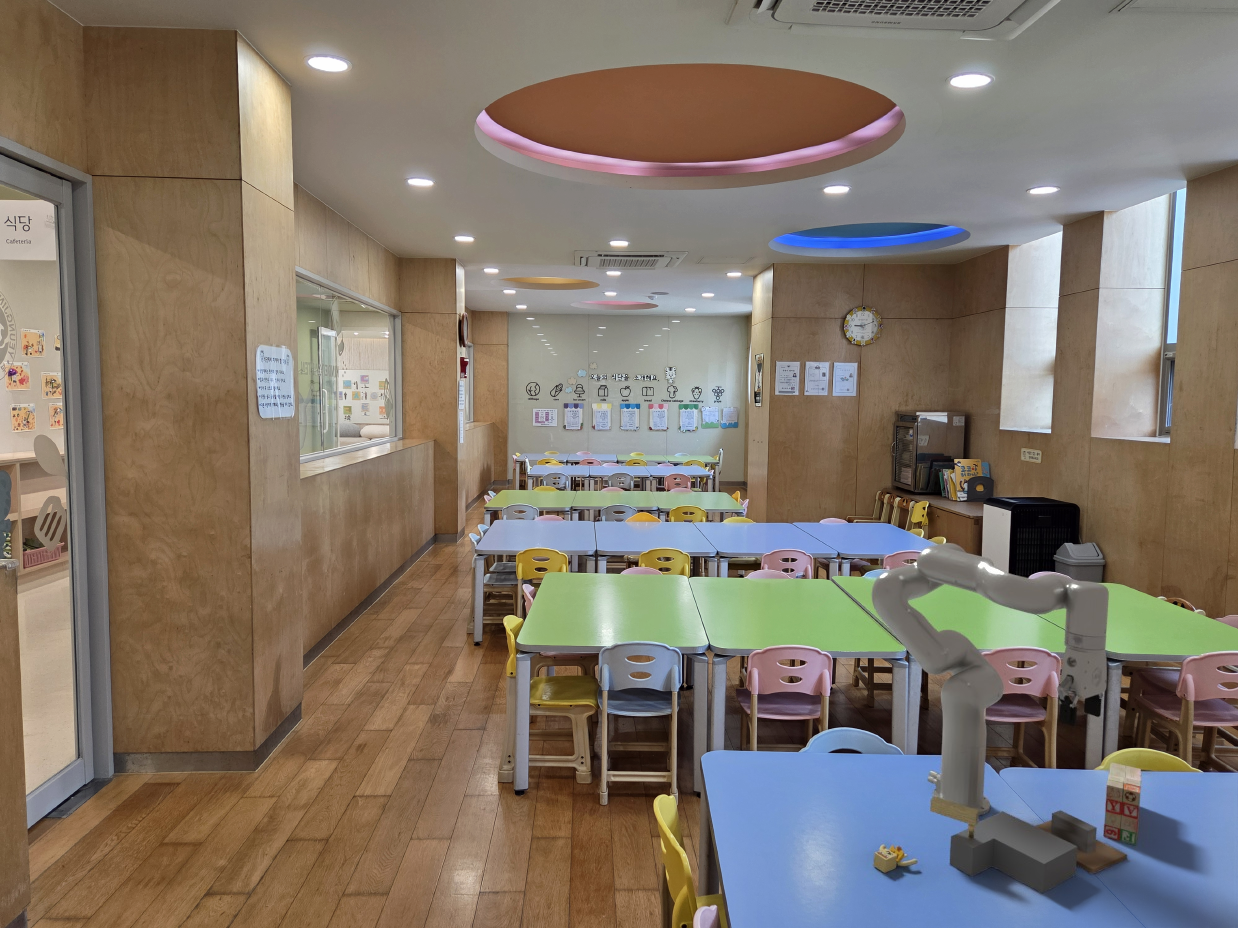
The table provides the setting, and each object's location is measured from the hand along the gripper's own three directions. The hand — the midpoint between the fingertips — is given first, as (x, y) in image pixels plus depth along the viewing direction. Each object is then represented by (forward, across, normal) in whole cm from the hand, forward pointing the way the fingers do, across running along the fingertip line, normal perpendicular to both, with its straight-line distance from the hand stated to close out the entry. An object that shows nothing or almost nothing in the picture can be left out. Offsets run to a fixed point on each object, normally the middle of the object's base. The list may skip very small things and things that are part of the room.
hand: (1080, 718), depth 168 cm
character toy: (+29, -39, +15) cm, 51 cm away
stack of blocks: (+29, +21, 0) cm, 36 cm away
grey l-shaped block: (+28, -19, +2) cm, 34 cm away
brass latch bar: (+22, -27, +10) cm, 36 cm away
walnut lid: (+29, 0, 0) cm, 29 cm away
